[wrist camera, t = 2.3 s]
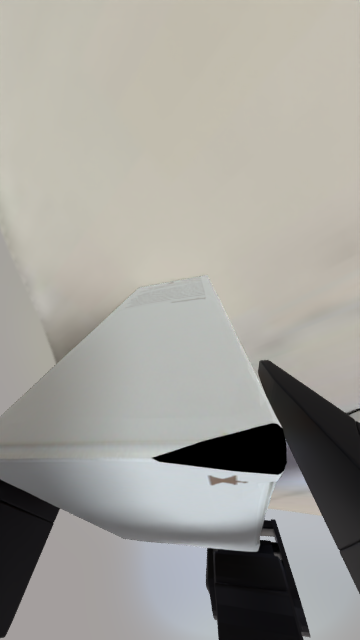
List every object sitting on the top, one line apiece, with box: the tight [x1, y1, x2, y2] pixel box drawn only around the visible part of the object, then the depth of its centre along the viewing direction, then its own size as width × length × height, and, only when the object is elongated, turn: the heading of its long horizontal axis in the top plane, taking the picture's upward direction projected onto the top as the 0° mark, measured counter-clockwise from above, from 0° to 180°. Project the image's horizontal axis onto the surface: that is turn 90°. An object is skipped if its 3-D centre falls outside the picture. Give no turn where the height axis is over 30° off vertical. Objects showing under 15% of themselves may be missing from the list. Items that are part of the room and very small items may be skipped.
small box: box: [0, 275, 287, 552], centre depth 8 cm, size 8×6×10 cm
